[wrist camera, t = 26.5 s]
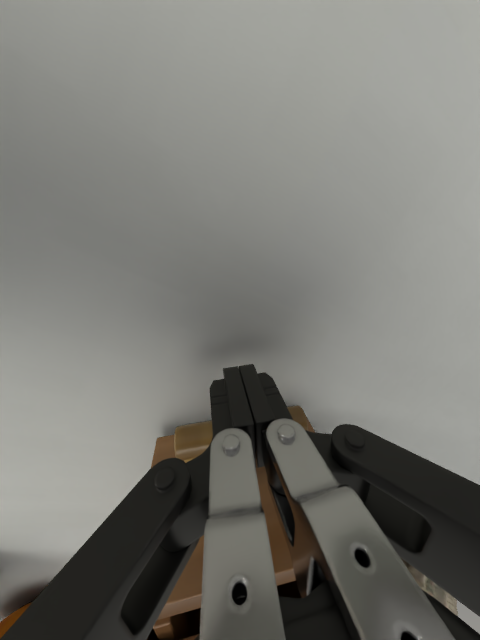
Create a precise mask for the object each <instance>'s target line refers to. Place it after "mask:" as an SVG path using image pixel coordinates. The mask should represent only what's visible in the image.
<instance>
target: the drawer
mask: <svg viewBox="0 0 480 640" xmlns="http://www.w3.org/2000/svg"><path fill="white" fill-rule="evenodd" d="M287 408H288V410H289V412H290V414H291V416H292V418H293V420H294V421H296V422H298V423H299V424H300V425H301V426H302V427H303V428H304V429H305V430H307V431H310V432H314V433H315V431H314V429H313V427H312V426H311V424H310V422H309V421H308V419H307V417H306V415H305V414H304V411H303V410H302V408H301V407H300V406H298V405H297V406H291V407H287ZM212 437H213V430H212V420H211V421H205V422H199V423H194V424H188V425H182V426H178V427H176V430H175V435H170V436H164V437H159V438H157V441H156V446H155V451H154V456H153V461H152V466H151V468H152V467H153V466H154V465H156V464H157V463H158V462H160V461H162V460H164V459H168V458H179V459H181V460H183V461H184V462H185V463H187V462H188V461H190V460H192V459H194V458H196V457H198V456H199V455H201V454H202V453H203V452H204V451H205V450H206V449H207V448H208V447H209V445H210V443H211V441H212ZM256 474H257V480H258V486H259V492H260V499H261V504H262V508H263V510H264V514H265V519H266V525H267V530H268V536H269V542H270V548H271V554H272V560H273V566H274V572H275V579H276V585H277V591H278V596H282V597H291V598H301V595H300V592H299V589H298V586H297V582H296V579H295V575H294V570H293V565H292V560H291V556H290V552H289V549H288V546H287V543H286V540H285V537H284V534H283V531H282V528H281V525H280V522H279V519H278V516H277V513H276V510H275V507H274V504H273V502H272V499H271V496H270V493H269V490H268V483H267V474H266V470H265V467H259V468H258V466H257V462H256ZM203 551H204V535H203V536H202V537H200V539H199V542H198V544H197V546H196V548H195V550H194V551H193V553H192V555H191V557H190V559H189V561H188V563H187V565H186V566H185V568H184V570H183V572H182V574H181V576H180V578H179V580H178V581H177V583H176V585H175V587H174V589H173V591H172V593H171V595H170V596H169V598H168V600H167V602H166V604H165V606H164V608H163V610H162V611H161V613H160V615H159V617H158V619H157V621H156V623H155V624H154V626H153V629H154V631H155V633H156V635H157V637H158V639H159V640H180V639H184V638H187V637H190V636H193V635H197V634H200V619H201V596H202V574H203Z"/></svg>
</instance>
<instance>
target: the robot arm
mask: <svg viewBox="0 0 480 640" xmlns="http://www.w3.org/2000/svg"><path fill="white" fill-rule="evenodd" d="M223 373H224V379H221V380H215V381H213V383H212V385H211V387H210V400H211V415H212V430H213V437H212V441H211V443H210V445H209V447H208V448H207V449H206V450H205V451H204V452H203V453H202V454H201V455H199V456H198V457H196V458H194V459H192V460H190V461H188V462H187V463H185V462H184V461H183V460H181V459H179V458H168V459H164V460H162V461H160V462H158V463H157V464H156V465H154V466H153V467H152V468H151V469H150V470H149V471H148V472H147V473H146V475H145V476H144V477H143V478H142V479H141V480H140V481H139V482H138V484H137V485H136V486H135V487H134V488H133V489H132V490H131V492H130V493H129V494H128V495H127V496H126V497H125V498H124V499H123V501H122V502H121V503H120V504H119V505H118V506H117V507H116V508H115V510H114V511H113V512H112V513H111V514H110V515H109V516H108V518H107V519H106V520H105V521H104V522H103V523H102V524H101V525H100V527H99V528H98V529H97V530H96V531H95V532H94V533H93V534H92V536H91V537H90V538H89V539H88V540H87V541H86V542H85V544H84V545H83V546H82V547H81V548H80V549H79V550H78V551H77V553H76V554H75V555H74V556H73V557H72V558H71V559H70V561H69V562H68V563H67V564H66V565H65V566H64V567H63V568H62V570H61V571H60V572H59V573H58V574H57V575H56V576H55V577H54V579H53V580H52V581H51V582H50V583H49V584H48V585H47V587H46V588H45V589H44V590H43V591H42V592H41V593H40V594H39V596H38V597H37V598H36V599H35V600H34V601H33V602H32V603H31V605H30V606H29V607H28V608H27V609H26V610H25V611H24V613H23V614H22V615H21V616H20V617H19V618H18V619H17V620H16V622H15V623H14V624H13V625H12V626H11V627H10V628H9V629H8V631H7V632H6V633H5V634H4V635H3V636H2V637H1V639H0V640H146V639H147V638H148V636H149V634H150V632H151V630H152V628H153V626H154V624H155V623H156V621H157V619H158V617H159V615H160V613H161V611H162V610H163V608H164V606H165V604H166V602H167V600H168V598H169V596H170V595H171V593H172V591H173V589H174V587H175V585H176V583H177V581H178V580H179V578H180V576H181V574H182V572H183V570H184V568H185V566H186V565H187V563H188V561H189V559H190V557H191V555H192V553H193V551H194V550H195V548H196V546H197V544H198V542H199V539H200V537H202V536H203V535H204V551H203V574H202V596H201V619H200V634H199V635H198V636H197V637H196V638H195V639H194V640H480V634H478V633H477V632H476V631H475V630H474V629H472V628H471V627H470V626H469V625H467V624H466V623H465V622H464V621H462V620H461V619H460V618H459V617H458V616H456V615H455V614H454V613H453V612H452V611H450V610H449V609H448V608H447V607H445V606H444V605H443V604H442V603H440V602H439V601H438V600H437V599H435V598H434V597H432V596H431V595H429V594H428V593H427V592H425V591H424V590H422V589H421V588H420V586H419V585H418V583H417V582H416V580H415V579H414V577H413V576H412V575H411V573H410V572H409V570H408V569H407V567H406V566H405V564H404V563H403V561H402V560H401V558H402V559H403V560H405V561H406V562H407V563H409V564H410V565H411V566H413V567H414V568H415V569H417V570H418V571H419V572H421V573H422V574H423V575H425V576H426V577H427V578H429V579H430V580H431V581H433V582H434V583H435V584H437V585H438V586H439V587H441V588H442V589H443V590H445V591H446V592H447V593H449V594H450V595H451V596H453V597H454V598H455V599H457V600H458V601H459V602H461V603H462V604H464V605H465V606H466V607H467V608H469V609H470V610H472V611H473V612H474V613H476V614H477V615H478V616H480V485H478V484H476V483H474V482H472V481H470V480H468V479H466V478H463V477H461V476H459V475H457V474H455V473H453V472H451V471H449V470H447V469H445V468H443V467H441V466H439V465H437V464H435V463H432V462H430V461H428V460H426V459H424V458H422V457H420V456H418V455H416V454H414V453H412V452H410V451H408V450H406V449H404V448H401V447H399V446H397V445H395V444H393V443H391V442H389V441H387V440H385V439H383V438H381V437H379V436H377V435H375V434H373V433H370V432H368V431H366V430H364V429H362V428H360V427H358V426H354V425H350V424H343V425H339V426H337V427H336V428H335V429H334V430H333V432H332V434H322V433H314V432H310V431H307V430H305V429H304V428H303V427H302V426H301V425H300V424H299V423H298V422H296V421H294V420H293V418H292V416H291V414H290V412H289V410H288V408H287V406H286V404H285V402H284V400H283V398H282V396H281V394H280V393H279V390H278V388H277V387H276V384H275V382H274V380H273V378H272V377H270V376H269V375H268V374H267V373H259V374H257V372H256V369H255V367H254V365H253V364H249V365H243V366H239V367H238V366H236V367H230V368H223ZM256 462H257V466H258V468H259V467H265V470H266V474H267V483H268V490H269V493H270V496H271V499H272V502H273V504H274V507H275V510H276V513H277V516H278V519H279V522H280V525H281V528H282V531H283V534H284V537H285V540H286V543H287V546H288V549H289V552H290V556H291V560H292V565H293V570H294V575H295V579H296V582H297V586H298V589H299V592H300V595H301V598H291V597H282V596H278V591H277V585H276V579H275V572H274V566H273V560H272V554H271V548H270V542H269V536H268V530H267V525H266V519H265V514H264V510H263V508H262V504H261V499H260V492H259V486H258V480H257V474H256ZM400 557H401V558H400ZM358 563H359V564H358Z"/></svg>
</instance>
